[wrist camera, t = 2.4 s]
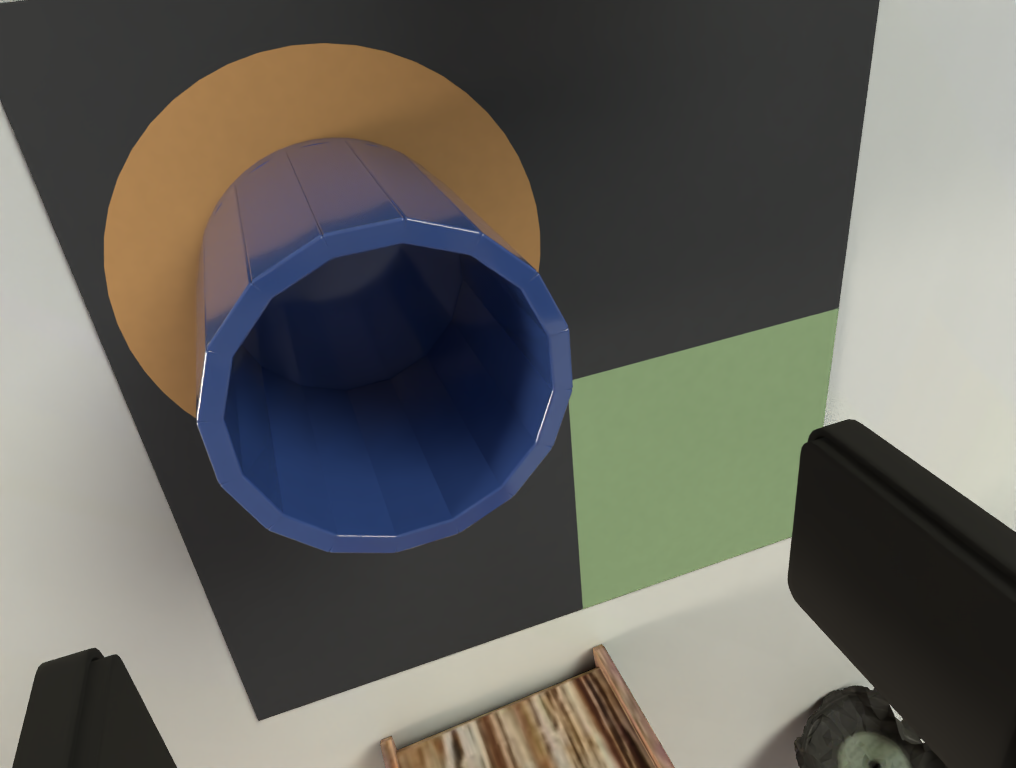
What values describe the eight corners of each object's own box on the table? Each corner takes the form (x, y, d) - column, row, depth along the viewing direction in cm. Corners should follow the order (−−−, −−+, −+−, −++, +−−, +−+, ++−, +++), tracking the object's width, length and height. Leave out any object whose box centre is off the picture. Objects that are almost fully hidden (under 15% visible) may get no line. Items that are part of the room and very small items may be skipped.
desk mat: (258, 719, 27) (258, 721, 26) (-37, 7, 15) (-38, 7, 15) (808, 529, 32) (809, 530, 32) (891, -107, 20) (894, -107, 20)
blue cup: (242, 419, 21) (259, 596, 15) (159, 166, 18) (140, 271, 12) (483, 357, 23) (581, 497, 17) (451, 114, 19) (560, 185, 13)
